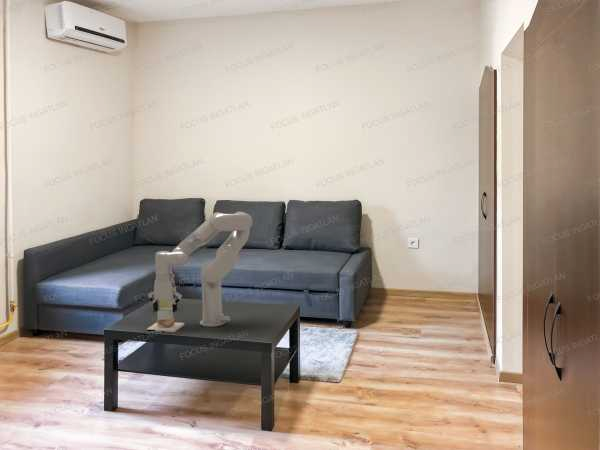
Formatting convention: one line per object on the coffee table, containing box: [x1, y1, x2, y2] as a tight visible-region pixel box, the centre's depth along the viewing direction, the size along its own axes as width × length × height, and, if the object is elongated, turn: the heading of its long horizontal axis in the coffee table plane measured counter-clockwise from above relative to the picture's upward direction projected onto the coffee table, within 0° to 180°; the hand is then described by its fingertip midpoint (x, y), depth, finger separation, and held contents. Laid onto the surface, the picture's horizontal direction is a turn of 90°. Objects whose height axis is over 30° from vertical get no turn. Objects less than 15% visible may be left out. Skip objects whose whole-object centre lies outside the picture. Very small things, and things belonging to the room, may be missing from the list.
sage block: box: [156, 308, 174, 320], centre depth 274 cm, size 6×6×4 cm
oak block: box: [156, 315, 175, 328], centre depth 275 cm, size 6×6×4 cm
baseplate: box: [146, 322, 185, 333], centre depth 275 cm, size 14×12×1 cm
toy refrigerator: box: [158, 272, 174, 310], centre depth 307 cm, size 8×7×21 cm
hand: (165, 311), depth 274 cm, fingers open, 9 cm apart
